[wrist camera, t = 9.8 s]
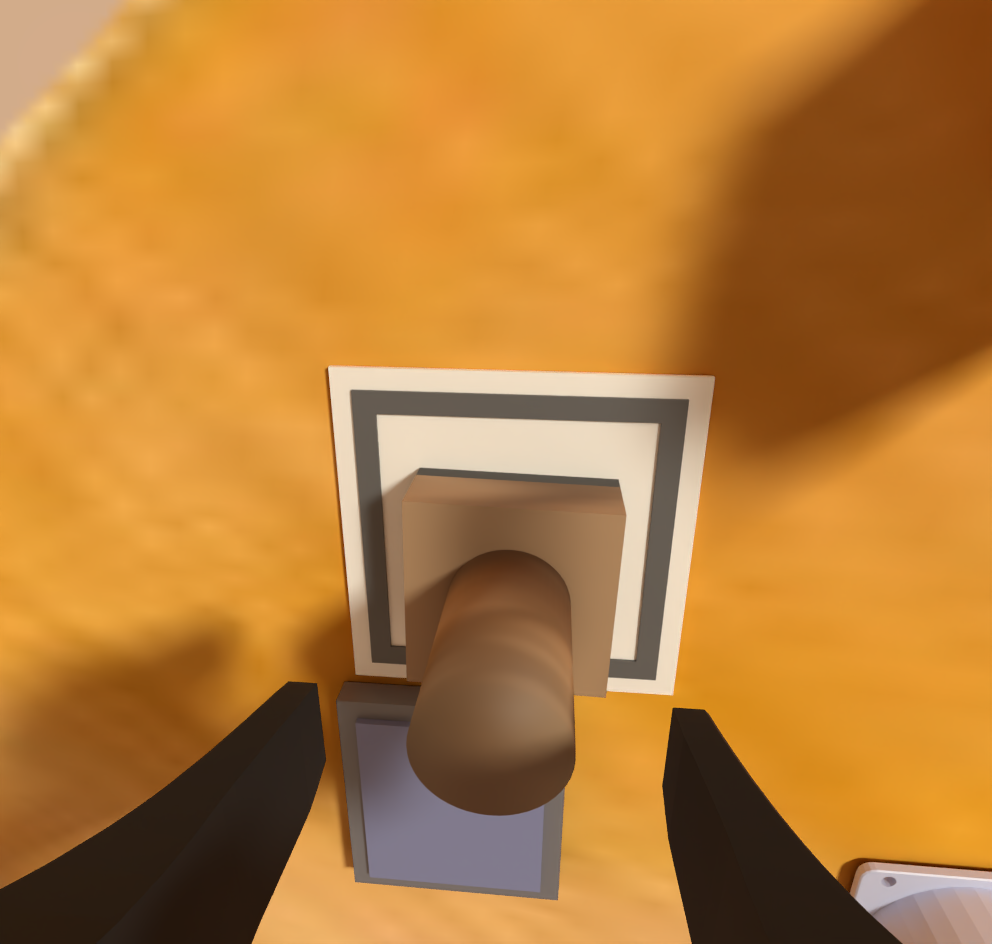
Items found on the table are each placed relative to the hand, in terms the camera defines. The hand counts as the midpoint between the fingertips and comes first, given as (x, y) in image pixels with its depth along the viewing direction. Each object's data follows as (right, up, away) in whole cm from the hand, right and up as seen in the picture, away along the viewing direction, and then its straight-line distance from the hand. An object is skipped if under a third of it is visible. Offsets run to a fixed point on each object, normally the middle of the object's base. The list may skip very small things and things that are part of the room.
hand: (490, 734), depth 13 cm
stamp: (+1, +3, +8) cm, 8 cm away
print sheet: (+1, +3, +8) cm, 8 cm away
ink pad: (-1, -7, +12) cm, 13 cm away
